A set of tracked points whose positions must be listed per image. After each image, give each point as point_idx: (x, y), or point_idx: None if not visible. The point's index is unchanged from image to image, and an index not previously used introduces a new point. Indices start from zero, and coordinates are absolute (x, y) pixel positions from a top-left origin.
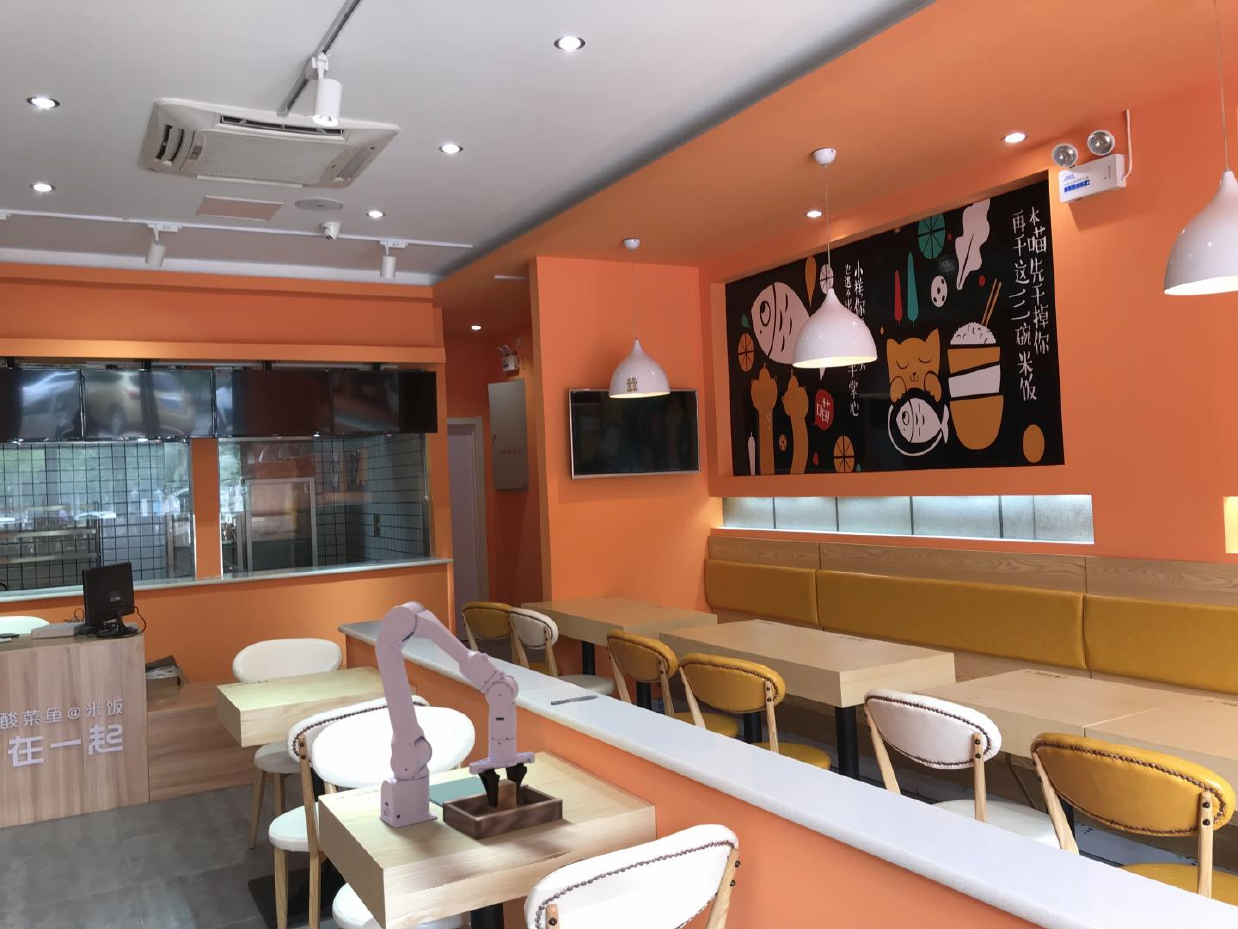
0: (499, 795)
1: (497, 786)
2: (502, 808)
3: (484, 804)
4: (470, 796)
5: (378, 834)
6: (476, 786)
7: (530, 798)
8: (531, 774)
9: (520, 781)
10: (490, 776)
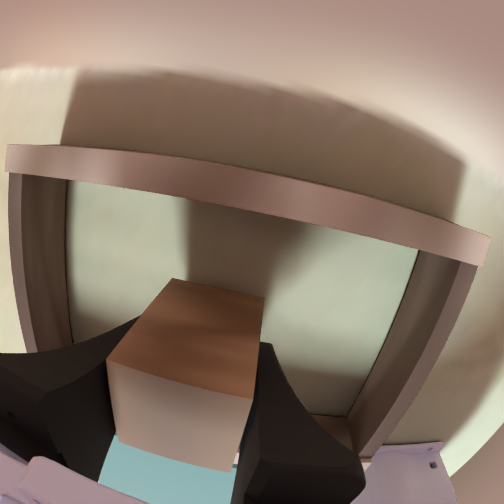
0: (256, 358)
1: (264, 408)
2: (242, 312)
3: None
4: None
5: (475, 431)
6: (127, 481)
7: (55, 336)
8: None
9: (71, 353)
10: (361, 481)
